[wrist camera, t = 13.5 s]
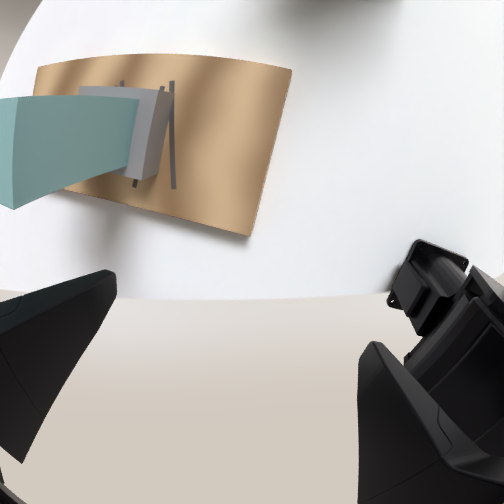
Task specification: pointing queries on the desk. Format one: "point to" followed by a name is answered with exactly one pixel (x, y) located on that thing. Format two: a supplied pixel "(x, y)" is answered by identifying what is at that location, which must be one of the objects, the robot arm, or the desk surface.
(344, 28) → the desk surface
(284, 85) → the oak board
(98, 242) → the desk surface
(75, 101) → the block
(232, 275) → the desk surface
